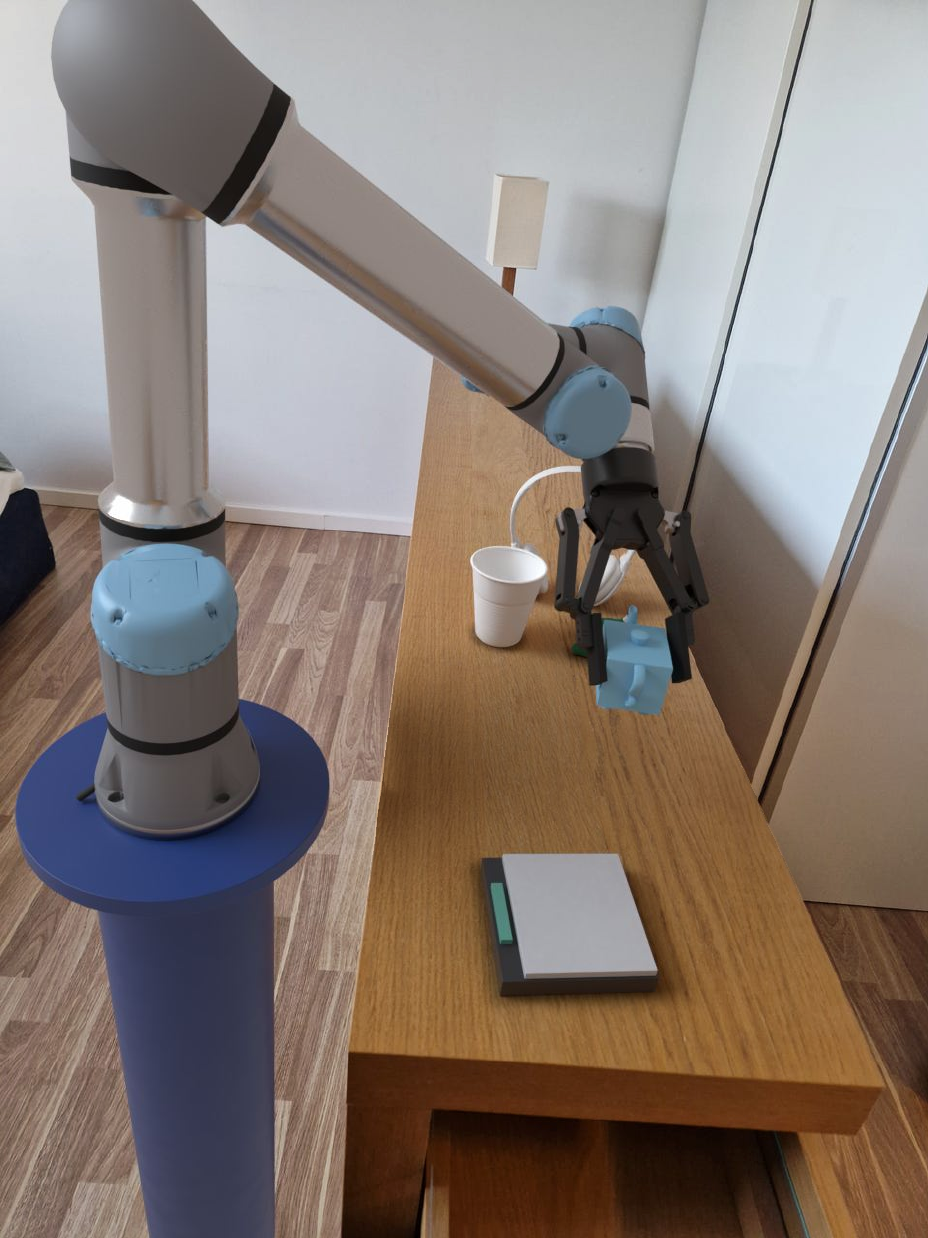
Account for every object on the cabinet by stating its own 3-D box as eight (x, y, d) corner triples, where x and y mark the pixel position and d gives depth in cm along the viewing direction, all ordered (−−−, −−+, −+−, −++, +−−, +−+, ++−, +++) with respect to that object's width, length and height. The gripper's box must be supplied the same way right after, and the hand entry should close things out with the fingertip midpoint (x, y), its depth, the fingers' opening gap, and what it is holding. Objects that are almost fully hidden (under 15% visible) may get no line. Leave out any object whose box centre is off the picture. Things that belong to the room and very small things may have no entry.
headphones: (501, 576, 130) (520, 450, 120) (622, 595, 130) (653, 469, 119) (497, 600, 124) (517, 468, 114) (625, 619, 124) (657, 489, 113)
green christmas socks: (582, 672, 114) (619, 657, 110) (567, 648, 114) (604, 632, 110) (608, 642, 121) (643, 627, 117) (594, 619, 121) (629, 603, 117)
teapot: (591, 653, 93) (605, 593, 89) (647, 662, 93) (664, 601, 89) (595, 723, 83) (611, 657, 79) (658, 732, 83) (678, 667, 79)
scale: (499, 996, 70) (503, 976, 69) (479, 871, 81) (483, 852, 80) (654, 992, 72) (661, 972, 71) (614, 870, 83) (619, 851, 81)
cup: (465, 611, 120) (474, 540, 115) (536, 622, 120) (548, 551, 114) (457, 650, 112) (466, 575, 106) (533, 662, 112) (547, 587, 106)
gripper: (693, 476, 94) (719, 685, 89) (508, 469, 89) (525, 691, 84) (729, 447, 87) (759, 673, 82) (530, 439, 82) (550, 678, 77)
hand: (640, 682), depth 83 cm, fingers closed on teapot, 8 cm apart
